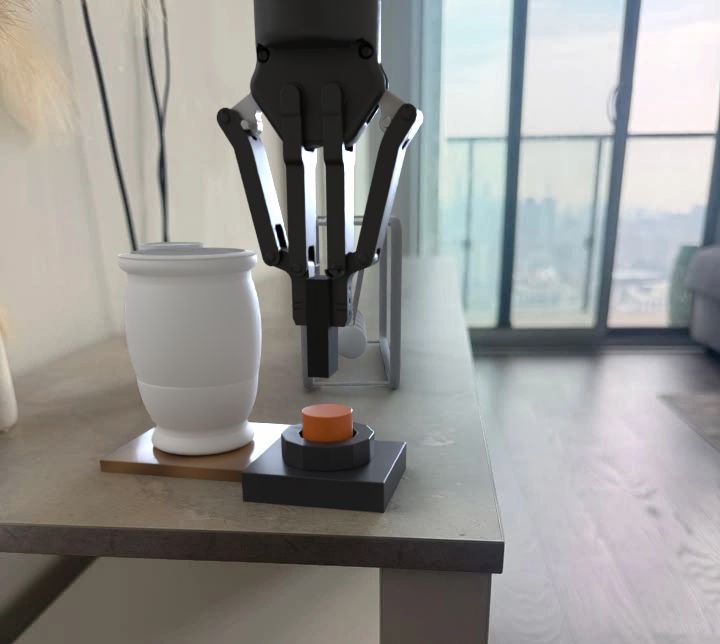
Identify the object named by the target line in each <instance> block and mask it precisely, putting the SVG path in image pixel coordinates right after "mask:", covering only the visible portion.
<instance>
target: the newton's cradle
mask: <svg viewBox="0 0 720 644" xmlns="http://www.w3.org/2000/svg"><path fill="white" fill-rule="evenodd" d="M363 217H364V214H363V215H354V227H355V226H358V227H359V226H360V227H361V225H362V221H363ZM319 220H322V221H319ZM324 226H325V227H327V222H326V215H318V213H316V259H317V264H320V265H319V268H318V270H317V271H316V272H315V275H321V260H320V253H321V252H320V227H324ZM388 227H390V304H389V305H390V309H389V310H390V312H389V313H390V315H389V316H390V317H389V318H390V319H389V320H390V322H389V343H388V325H387V324H388V230H387V231H386V235H385V239H384V243H383V247H382V251H381V256H380V259H379V261H378V339H377V340H375V339H374V340H373V339H372V340H368V338H367V332H366V324H365V317H364V314H363V312H362V311H361V310H360V309H359V308H358V307H359V302H360V297H361V290H362V286H363V280H364V274H365V269H362V270H360V271H357V276H356V283H355V288H354V294H353V297H352V319H351V321H350V324H348V325H347V326H346V327H338V355H339V356H341V357H342V358H344V359H347V360H353V359H354V360H355V359H357V358H359V357H360V356H362V355H363V354H364V353H365V351H366V349H367V346H368V344H379V348H380V351H381V352H380V353H381V355H382V360H383V361H382V362H383V365H384V368H385V369H384V370H385V373H386V377H387V381H334V382H333V381H331V382H330V381H328V382H327V381H326V382H323V381H321V382H319V381H318V382H315V381H316V378H314V377H308V365H307V326H300V347H301V348H300V349H301V350H300V351H301V377H302V385H303V386H302V387H303V388H304V389H305V390H306V391H310V390H312V389H313V388H314V387H361V386H363V387H366V386H369V387H371V386H373V387H374V386H389V387H390V389H392V390H397V389H399V388H400V384H401V360H402V359H401V358H402V357H401V356H402V354H401V353H402V352H401V350H402V348H401V347H402V346H401V345H402V289H403V288H402V287H403V286H402V285H403V284H402V283H403V274H402V273H403V224H402V220H401V219H400V218H399V217H398V216H394V215H392V214H390V218H389V222H388V226H387V229H389V228H388Z"/></svg>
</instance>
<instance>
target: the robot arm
mask: <svg viewBox="0 0 720 644" xmlns="http://www.w3.org/2000/svg"><path fill="white" fill-rule="evenodd" d="M252 2H253V20H254V43H255V44H254V45H255V54H256V62H255V66H254V71H253V73H252V75H251V78H250V81H249V93H248V94H246V95H245V96H244V97H243V98H242V99H240V100H239V101H238V102H237V103H236V104H235V105H233V106H232V107H222V108H220V109H219V110H218V111H217V113H216V123H217V124H218V126H219V129H220V130H221V131H222V132H223V134H224V136H225V137H226V139H227V141H228V142H229V143H230V145H231V147H232V148H233V152H234V155H235V158H236V163H237V167H238V170H239V171H238V172H239V174H240V178H241V182H242V186H243V189H244V190H243V191H244V193H245V197H246V202H247V205H248V208H249V213H250V216H251V221H252V224H253V227H254V231H255V235H256V239H257V243H258V248H259V251H260V255H261V258H262V261H263V263H264V264H265V265H266V266H268V267H274V268H276V269H279V270H281V271H283V272H285V273H287V275H288V276H289V279H290V283H291V302H292V303H291V308H292V310H291V311H292V312H291V313H292V319H293V322H294V325H295V326H300V327H301V326H307V365H308V377H314V378H315V379H316V378H317V379H318V378H319V379H330V378H331V377H332V376H333V375H334V374H336V373H337V372H338V371H339V369H340V368H339V367H340V366H339V361H340V360H339V357H340V354H339V353H338V327H346V326H347V325H348V324H350V321H351V319H352V304H353V278H354V276H355V275H356V273H358V271H360V270H362V269H364V270H366V269H368V268H370V267H372V266H375V265H377V264H378V263H379V259H380V256H381V251H382V247H383V243H384V239H385V235H386V231H387V232H388V228H387V226H388V227H389V225H388V222H389V218H390V215H392V214H391V213H392V210H393V206H394V201H395V197H396V193H397V188H398V185H399V180H400V175H401V172H402V167H403V165H404V164H403V163H404V159H405V154H406V152H407V148H408V146H409V145H410V143H411V142H412V140H413V138H414V137H415V135H416V133H417V132H418V130H419V128H420V127H421V126H422V124H423V120H424V115H423V112H422V111H421V110H420V108H418V107H417V106H415V105H414V104H411V103H410V102H405V100H403V99H401V98H400V97H399V96H397V95H396V94H395V93H393V92H392V91H390V90H389V87H390V86H389V85H390V84H389V79H388V76H387V73H386V72H385V70H384V67H383V63H382V57H381V56H382V55H381V49H382V48H381V47H382V46H381V45H382V44H381V43H382V42H381V41H382V40H381V38H382V37H381V36H382V35H381V34H382V31H381V30H382V0H253V1H252ZM379 109H380V112H381V114H380V119H379V122H378V123H379V128H380V130H381V131H382V133H383V135H382V138H381V140H380V144H379V147H378V151H377V156H376V159H375V160H376V161H375V163H374V167H373V168H374V169H373V173H372V177H371V181H370V186H369V191H368V196H367V198H366V199H367V200H366V203H365V207H364V213H363V215H364V217H363V221H362V225H361V226H360V231H359V235H358V239H357V244H356V248H354V247H355V235H354V234H355V226H354V216H355V215H354V213H355V210H354V207H355V206H354V204H355V203H354V200H355V198H354V194H355V193H354V192H355V191H354V188H355V187H354V184H355V183H354V169H355V167H354V166H355V163H356V144H357V143H358V142H359V140H360V139H361V137H362V135H363V134H364V133H365V131H366V130H367V128H368V126H369V125H370V123H371V121H372V120H373V118H374V117H375V115H376V114H377V112H378V111H379ZM262 114H263V116H264V117H265V119H266V120H267V121H268V123H269V125H270V126H271V127H272V129H273V131H274V132H275V134H276V135H277V137H278V138H279V139H280V141H281V142H282V160H283V163H284V165H285V180H286V181H285V183H286V215H287V216H286V217H287V218H286V219H287V221H286V222H287V231H286V228H285V224H284V220H283V216H282V211H281V207H280V204H279V200H278V196H277V192H276V188H275V185H274V181H273V175H272V172H271V168H270V164H269V160H268V157H267V152H266V149H265V146H264V143H263V142H262V139H261V137H260V135H261V134H262V132H263V122H262V119H261V115H262ZM320 148H322V156H323V163H324V166H325V211H326V215H325V216H326V222H327V226H326V267H327V268H325V269H323V270H324V274H320V275H315V272H316V271H317V270H318V268H319V265H320V266H321V263H320V264H317V259H316V214H317V212H316V211H317V207H316V206H317V205H316V200H317V199H316V198H317V197H316V166H317V162H318V149H320Z"/></svg>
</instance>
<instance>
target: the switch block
mask: <svg viewBox="0 0 720 644" xmlns="http://www.w3.org/2000/svg"><path fill="white" fill-rule="evenodd" d="M291 425H292V426H289V427H287V428H286V429H285V430H284V431H283V432H282V433H281V436H280V437H279V438H278V439H277V440H276V441H275V442H274V443H273V444H272V445H270V446H269V447H268V448H267V449H266V450H265V451H264V452H263V453H262V454H261V455H260V456H259V457H257V458H256V459H255V460H254V461H253V462H252V463H251V464H250V465H249V466H248V467H247V468H246V469H244V470H243V471H242V472H241V480H242V482H241V491H242V492H241V493H242V502H245V503H256V504H257V503H258V504H268V505H281V506H293V507H305V508H315V509H317V508H318V509H329V510H339V511H341V510H343V511H351V512H352V511H354V512H365V513H377V514H378V513H379V514H384V513H385V511H386V509H387V507H388V505H389V503H390V501H391V499H392V498H393V495H394V493H395V491H396V489H397V488H398V485H399V484H400V481H401V479H402V477H403V475H404V473H405V471H406V469H407V442H406V441H393V440H378V439H375V432H374V430H373V429H372V428H370V426H369V425H367V424H364V423H360V422H356V421H353V437H352V438H349V439H346V440H342V441H332V442H322V441H311V440H308V439H304V438H303V433H302V422H299V423H296V424H291Z"/></svg>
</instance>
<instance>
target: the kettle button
mask: <svg viewBox="0 0 720 644" xmlns="http://www.w3.org/2000/svg"><path fill="white" fill-rule="evenodd" d="M353 412H354V411H353V409H352V407H350V406H347V405H345V404H344V405H343V404H339V403H338V404H337V403H320V404H319V403H318V404H313V405H309V406H306V407H304V408H302V410H301V423H302V433H303V438H304V439H308V440H311V441H322V442H332V441H342V440H346V439H349V438H352V437H353V422H354V416H353Z"/></svg>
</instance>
